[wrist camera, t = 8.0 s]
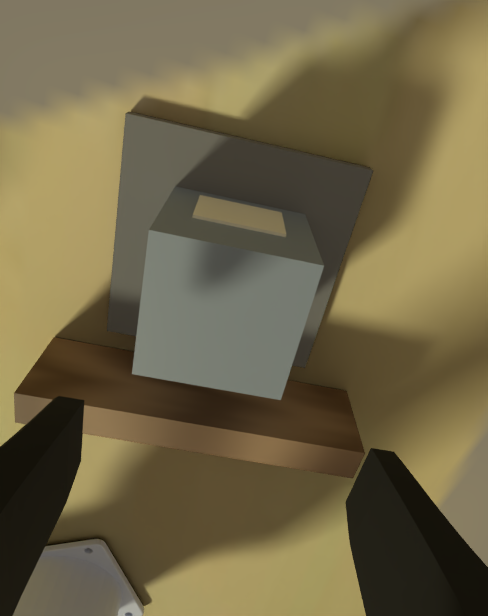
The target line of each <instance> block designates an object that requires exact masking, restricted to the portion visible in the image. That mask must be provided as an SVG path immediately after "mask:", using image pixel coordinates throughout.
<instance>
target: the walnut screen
mask: <svg viewBox="0 0 488 616" xmlns="http://www.w3.org/2000/svg"><path fill="white" fill-rule="evenodd" d="M133 360H134V352H132V351H127V350H121V349H116V348H110V347H105V346H99V345H94V344H89V343H83V342H78V341H72V340H67V339H61V338H56V337H54V338H53V339H52V341H51V342H50V344H49V345H48V346H47V348H46V349H45V351H44V352H43V353H42V355H41V356H40V358H39V359H38V360H37V362H36V363H35V365H34V366H33V367H32V369H31V370H30V372H29V373H28V374H27V376H26V377H25V379H24V380H23V381H22V383H21V384H20V386H19V387H18V388H17V390H16V391H15V393H14V405H15V422H16V423H22V424H27V423H28V422H29V421H31V420H32V419H33V418H34V417H35V416H36V415H37V414H38V413H39V412H40V411H41V410H42V409H43V408H45V407H46V406H47V405H48V404H49V403H50V402H51V401H52V400H53V399H54V398H56V397H58V396H63V397H69V398H75V399H81V400H84V416H83V433H82V434H88V435H95V436H101V437H107V438H113V439H119V440H125V441H131V442H137V443H143V444H149V445H155V446H161V447H167V448H173V449H179V450H185V451H191V452H197V453H203V454H209V455H215V456H221V457H227V458H233V459H239V460H245V461H251V462H257V463H264V464H270V465H276V466H282V467H288V468H294V469H300V470H306V471H312V472H318V473H324V474H330V475H336V476H342V477H348V478H353V477H354V475H355V473H356V471H357V469H358V467H359V464H360V462H361V460H362V458H363V456H364V454H365V452H364V449H363V445H362V442H361V439H360V435H359V432H358V428H357V425H356V422H355V418H354V415H353V411H352V408H351V405H350V401H349V398H348V395H347V391H344V390H338V389H333V388H328V387H322V386H317V385H311V384H306V383H300V382H295V381H290V380H287V383H286V386H285V389H284V392H283V395H282V398H281V400H277V399H271V398H265V397H260V396H254V395H248V394H243V393H237V392H231V391H225V390H220V389H214V388H208V387H203V386H197V385H191V384H186V383H180V382H174V381H168V380H163V379H157V378H151V377H146V376H140V375H134V374H132V369H133Z"/></svg>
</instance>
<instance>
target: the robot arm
mask: <svg viewBox="0 0 488 616" xmlns="http://www.w3.org/2000/svg"><path fill="white" fill-rule="evenodd" d="M83 416H84V400H81V399H75V398H69V397H63V396H58V397H56V398H54V399H53V400H52V401H51V402H50V403H49V404H48V405H47V406H46V407H45V408H43V409H42V410H41V411H40V412H39V413H38V414H37V415H36V416H35V417H34V418H33V419H32V420H31V421H29V422H28V423H27V424H26V425H25V426H24V427H23V428H22V429H20V430H19V431H18V432H17V433H16V434H15V435H14V436H12V437H11V438H10V439H9V440H8V441H7V442H5V443H4V444H3V445H2V446H1V447H0V616H142V615H143V613H144V607H143V605H142V603H141V602H140V600H139V598H138V597H137V595H136V593H135V592H134V590H133V588H132V587H131V585H130V583H129V582H128V580H127V578H126V576H125V575H124V573H123V571H122V570H121V568H120V566H119V565H118V563H117V561H116V560H115V558H114V556H113V555H112V553H111V551H110V550H109V548H108V546H107V545H106V543H105V542H104V541H103V540H101V539H91V540H85V541H78V542H71V543H64V544H57V545H51V546H46V544H47V542H48V540H49V537H50V535H51V533H52V531H53V529H54V527H55V525H56V523H57V521H58V519H59V516H60V514H61V512H62V510H63V508H64V506H65V504H66V502H67V499H68V496H69V493H70V490H71V488H72V485H73V482H74V479H75V476H76V473H77V470H78V468H79V465H80V462H81V449H82V433H83ZM346 510H347V522H348V531H349V539H350V546H351V551H352V555H353V560H354V564H355V569H356V573H357V578H358V582H359V586H360V591H361V595H362V599H363V604H364V608H365V612H366V616H488V567H487V566H486V565H485V564H484V563H483V561H482V560H481V559H480V558H479V557H478V556H477V555H476V554H475V553H474V551H473V550H472V549H471V548H470V547H469V545H468V544H467V543H466V542H465V541H464V539H462V537H461V536H460V535H459V534H458V532H457V531H456V530H455V529H454V527H453V526H452V525H451V524H450V523H449V521H448V520H447V519H446V518H445V516H444V515H443V514H442V513H441V511H440V510H439V509H438V507H437V506H436V505H435V504H434V502H433V501H432V500H431V499H430V497H429V496H428V495H427V493H426V492H425V491H424V490H423V488H422V487H421V486H420V484H419V483H418V482H417V481H416V479H415V478H414V477H413V475H412V474H411V473H410V471H409V470H408V469H407V468H406V466H405V465H404V464H403V462H402V461H401V460H400V459H399V458H398V456H397V455H396V454H395V453H394V452H391V451H385V450H379V449H373V448H371V449H370V451H369V454H368V456H367V458H366V460H365V462H364V464H363V466H362V468H361V471H360V473H359V475H358V477H357V479H356V481H355V483H354V485H353V488H352V490H351V492H350V494H349V496H348V498H347V500H346Z"/></svg>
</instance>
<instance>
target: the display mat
mask: <svg viewBox="0 0 488 616" xmlns="http://www.w3.org/2000/svg"><path fill="white" fill-rule="evenodd" d="M372 173H373V170H372V169H371V168H370V167H366V166H361V165H357V164H353V163H348V162H344V161H340V160H336V159H331V158H327V157H323V156H318V155H314V154H310V153H305V152H301V151H297V150H293V149H288V148H284V147H280V146H275V145H271V144H267V143H263V142H258V141H254V140H250V139H245V138H241V137H237V136H232V135H228V134H224V133H220V132H215V131H211V130H207V129H202V128H198V127H194V126H190V125H185V124H181V123H177V122H172V121H168V120H164V119H159V118H155V117H151V116H147V115H142V114H138V113H134V112H127V113H126V116H125V127H124V139H123V150H122V162H121V173H120V185H119V196H118V208H117V219H116V231H115V242H114V254H113V265H112V277H111V288H110V300H109V311H108V323H107V331H111V332H116V333H121V334H127V335H132V336H136V335H137V326H138V318H139V309H140V301H141V292H142V284H143V275H144V267H145V259H146V250H147V242H148V233H149V229H150V227H151V226H152V224H153V222H154V221H155V219H156V217H157V216H158V214H159V212H160V211H161V209H162V207H163V206H164V204H165V202H166V201H167V199H168V197H169V196H170V194H171V192H172V191H173V189H174V187H175V186H176V187H181V188H185V189H190V190H195V191H199V192H204V193H209V194H213V195H218V196H223V197H227V198H232V199H237V200H241V201H246V202H250V203H255V204H260V205H264V206H269V207H274V208H278V209H283V210H288V211H292V212H297V213H302V214H305V215H306V218H307V221H308V223H309V226H310V229H311V231H312V234H313V237H314V240H315V242H316V245H317V248H318V250H319V253H320V256H321V259H322V261H323V264H324V268H323V271H322V274H321V277H320V280H319V283H318V286H317V290H316V293H315V296H314V299H313V302H312V305H311V308H310V311H309V314H308V317H307V321H306V324H305V327H304V330H303V333H302V336H301V339H300V342H299V345H298V348H297V352H296V355H295V358H294V361H293V364H292V366H298V367H303V368H305V366H306V363H307V361H308V358H309V355H310V352H311V349H312V346H313V343H314V340H315V338H316V335H317V332H318V329H319V326H320V323H321V320H322V317H323V314H324V312H325V309H326V306H327V303H328V300H329V297H330V294H331V291H332V288H333V286H334V283H335V280H336V277H337V274H338V271H339V268H340V265H341V263H342V260H343V257H344V254H345V251H346V248H347V245H348V242H349V239H350V237H351V234H352V231H353V228H354V225H355V222H356V219H357V216H358V213H359V211H360V208H361V205H362V202H363V199H364V196H365V193H366V190H367V188H368V185H369V182H370V179H371V176H372Z"/></svg>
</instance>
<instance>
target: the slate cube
mask: <svg viewBox="0 0 488 616" xmlns="http://www.w3.org/2000/svg"><path fill="white" fill-rule="evenodd" d="M323 268H324V264H323V261H322V259H321V256H320V253H319V250H318V248H317V245H316V242H315V240H314V237H313V234H312V231H311V229H310V226H309V223H308V221H307V218H306V215H305V214H302V213H297V212H292V211H288V210H283V209H278V208H274V207H269V206H264V205H260V204H255V203H250V202H246V201H241V200H237V199H232V198H227V197H223V196H218V195H213V194H209V193H204V192H199V191H195V190H190V189H185V188H181V187H176V186H175V187H174V189H173V191H172V192H171V194H170V196H169V197H168V199H167V201H166V202H165V204H164V206H163V207H162V209H161V211H160V212H159V214H158V216H157V217H156V219H155V221H154V222H153V224H152V226H151V227H150V229H149V233H148V242H147V250H146V259H145V267H144V275H143V284H142V292H141V301H140V309H139V318H138V326H137V335H136V343H135V352H134V360H133V369H132V374H134V375H140V376H146V377H151V378H157V379H163V380H168V381H174V382H180V383H186V384H191V385H197V386H203V387H208V388H214V389H220V390H225V391H231V392H237V393H243V394H248V395H254V396H260V397H265V398H271V399H277V400H281V398H282V395H283V392H284V389H285V386H286V383H287V379H288V376H289V373H290V370H291V367H292V364H293V361H294V358H295V355H296V352H297V348H298V345H299V342H300V339H301V336H302V333H303V330H304V327H305V324H306V321H307V317H308V314H309V311H310V308H311V305H312V302H313V299H314V296H315V293H316V290H317V286H318V283H319V280H320V277H321V274H322V271H323Z"/></svg>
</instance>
